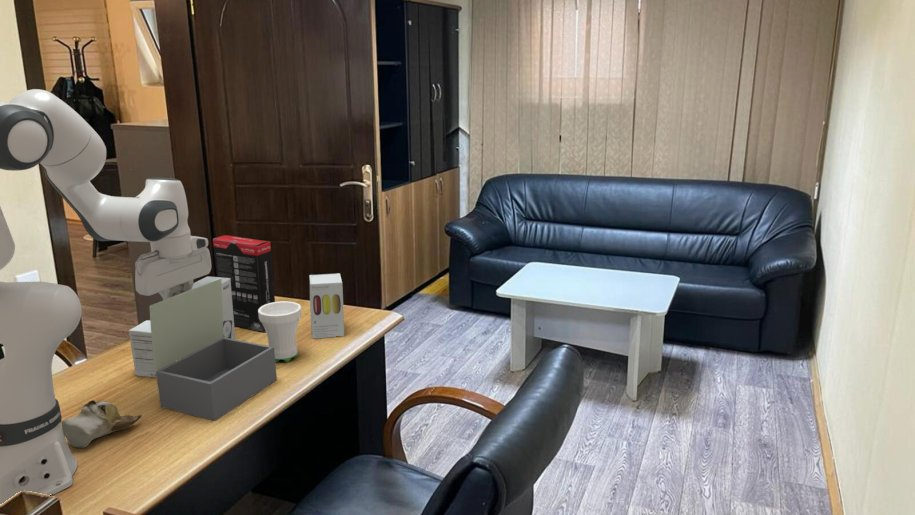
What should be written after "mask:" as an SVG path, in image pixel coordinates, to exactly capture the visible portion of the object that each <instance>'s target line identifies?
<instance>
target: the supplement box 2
mask: <svg viewBox="0 0 915 515" xmlns="http://www.w3.org/2000/svg"><path fill="white" fill-rule="evenodd" d="M342 280H343V279H342V277H341V273H340V272H339V273H338V272H337V273H325V274H324V273H323V274H309V304H310V305H309V307H310V308H309V309H310V329H311V337H312V339H315V340H316V339H325V338H337V337H336V336H341V337H345V320H344V319H345V318H344V317H345V316H344V293H343V292H344V290H343V281H342Z"/></svg>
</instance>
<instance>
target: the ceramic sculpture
mask: <svg viewBox="0 0 915 515" xmlns="http://www.w3.org/2000/svg"><path fill="white" fill-rule="evenodd" d="M142 417H143V415H142V414H138V415H129V414H125V415H120V414H119V410H118V408H117V406H116V405H114V404H113V403H112V402H109V401H105V400H97V401H95V400H90V401H88V402H87V403H85V404H83V405H82V407H81V409H80V411H79V413H78V415H76V416H74V417H71V418H65V419H63V420H61V427H62V430H63V433H64V436H65V439H66V441H67V442H68V443H69V444H70V445H71V446H72V447H73V448H76V449H79V448H87V447H88V446H89V444H90V443H91V441H92V440H95V439H97V438H101V437H103V436H106V435H108V434H110V433H112V432H118V431H122V430H125V429H128V428H130V427H131V426H133V425H134V424H135V423H136V422H138V421H139V420H140V419H141V418H142Z"/></svg>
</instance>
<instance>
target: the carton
mask: <svg viewBox="0 0 915 515" xmlns="http://www.w3.org/2000/svg"><path fill="white" fill-rule="evenodd" d="M276 368H277V366H276V362H275V352H274V347H271V346H269V345H265V344H260V343H255V342H252V341H251V342H250V341H245V340H240V339H236V338H235V339H230V338H225V337H223V338H221V339H219V340H217V341H215V342H213V343H211V344H209V345H207V346H205V347H203V348H201V349H199V350H197V351H195V352H193V353H191V354H189V355H187V356H185V357H183V358H182V359H179V360H177V361H176V362H174V363H172V364H170V365H168V366H166V367H164V368H162V369H160V370H158V371H156V377H157V378H156V383H157V391H158V397H159V404H160V405H159V406H160V408H163V409H166V410H170V411H174V412H179V413H182V414H185V415H186V414H187V415H191V416H195V417H198V418H200V419H201V418H203V419H206V420H210V421H214V422H215V421H217V420H218V419H219V418H222V417H223V416H225V415H226V414H227V413H229V412H230V411H232V410H234V409H235V408H236V407H238V406H240V405H241V404H243V403H244V402H246V401H247V400H249V399H250V398H252V397H253V396H255V395H256V394H258V393H259V392H261V391H263V390H264V389H265V388H268V387H269V386H270V385H272V384H273V383H274V382H276V381H277V380H278V379H277V378H278V377H277V369H276Z"/></svg>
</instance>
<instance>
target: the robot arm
mask: <svg viewBox="0 0 915 515" xmlns="http://www.w3.org/2000/svg"><path fill="white" fill-rule="evenodd" d="M106 160H107V147H106V145H105V142H104V141H103V139H102V138H101V136H100V135H99V134H98V133H97V131H95V129H94V128H93V127H92V126H91V125H90V124H89V123H88V122H87V121H86V120H85V119H84V118H83V117H82V116H81V115H80V114H79V113H78V112H77V111H75V110H74V108H72V107H71V106H70V105H68V103H66V102H65V101H63V100H62V99H60V98H59V97H58V96H56V95H55V94H54V93H52V92H50V91H49V90H44V89H38V88H32V89H28V90H25V91H22V92H20V93H19V94H17V95H15V96H14V97H13V98H11V100H10V101H9V102H7V101H2V100H0V169H1V170H3V171H17V172H18V171H25V170H30V169H32V168H34V167H36V166H38V165H39V164H40V165H42V167H43V172H44V176H45V177H46V179H47V180H48V182H49V184H51V186H52V187H53V188H54V189H55V191H56V192H57V193H58V194H59V195H60V196H61V197H62V199H63V200H64V201H65V202H66V204H68V206H69V207H70V208H71V209H72V210H73V212H75V214H76V215H77V217H78V218H79V220H80V221H81V224H82V227H84V229H85V231H86V232H87V234H88V235H89V237H91V238H92V239H94V240H95V241H98V242H108V241H109V242H110V241H111V242H115V241H120V242H121V241H123V242H138V243H139V242H141V243H150V252H148V253H143V254H140V255H139V257H138V258H137V260H136V261H135V273H134V274H135V275H134V280H135V282H134V284H135V291H136V292H137V293H138V294H139V295H141V296H152V295H155V294H159V295H160V297H161V298H162V300H163V299H164V300H165V299H168V298H170V295H169V294H168V293H170V288H172V287H174V286H177V285H182V284H183V285H184V286H183V289H184V290H183V292H185V291H188V290H190V289H192V287H193V284H194V283H195V282H194V280H196V279H198V278H201V277H204V276H207V275H209V274H210V273H211V270H212V258H211V253H210V250H209V248H208V246H209V239H208V238H206V237H201V236H196V235H191V234H192V233H191V228H190V226H189V224H188V219H189V208H188V200H187V196H186V192H185V188H184V185H183V183H182V181H181V180H179V179H177V178H174V177H173V178H172V177H149V178H146V179H145V184H144V185H145V186H144V188H143V190H142V191H141V192H140V193H139V194H138V195H136V196H135V197H131V196H129V197H128V196H126V197H125V196H115V195H114V196H113V195H112V196H111V195H108V194H104V193H102V192H99V191H98V190H97V188H95V186H94V185H93V184H92V182H91V181H92V180H93V179H95V177H97V175H99V173H100V172H101V171H102V170H103V169H104V168H103V167H104V165H105V163H106ZM15 251H16V244H15V241H14V238H13V236H12V233H11V230H10V228H9V225H8V223H7V220H6V217H5V215H4V212H3V210H2V207H1V206H0V271H1V270H3V269H4V268H5V267H7V265H8V264H10V262H12V260H13V257H14V254H15ZM183 292H180V293H183ZM82 313H83V312H82V303H81V300H80V299H79V296H78V294H77V293H76V292H75V290H73V289H72V288H71V287H70V286H69V285H64V284H57V283H52V282H48V281H47V282H46V281H15V282H14V281H10V282H8V281H7V282H5V281H0V345H3V349H4V357H3V358H1V359H0V504H2V503H4V502H5V501H6V500H8V499H9V498H11V497H12V496H14V495H15V494H16V493H18V492H20V491H24V490H25V491H32V492H37V493H42V494H47V495H50V494H53V495H55V494H57V493H60V492H62V491H64V490H65V489H67V488H69V487H71V486H72V485H73V483H74V479H73V475H74V474H75V472H76V471H77V468H78V462H77V460H76V458H75V457H74V455H73V454H72V451H71V449H70V448H69V444H68V443H67V442H68V441H67V439H66V437H65V436H64V433H63V430H62V418H63V417H62V413H61V412H62V411H61V407H60V403H59V401H58V399H57V398H56V394H55V388H54V381H53V379H54V378H53V369H52V366H53V359H54V356H55V354H56V351H57V349H58V347H59V346H60V345H61V343H63V341H65V340H66V339H67V338H68V337H69V336H71V334H72V333H73V332H74V331H75V330H76V329H77V327H78V325H79V323H80V320H81V318H82Z"/></svg>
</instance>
